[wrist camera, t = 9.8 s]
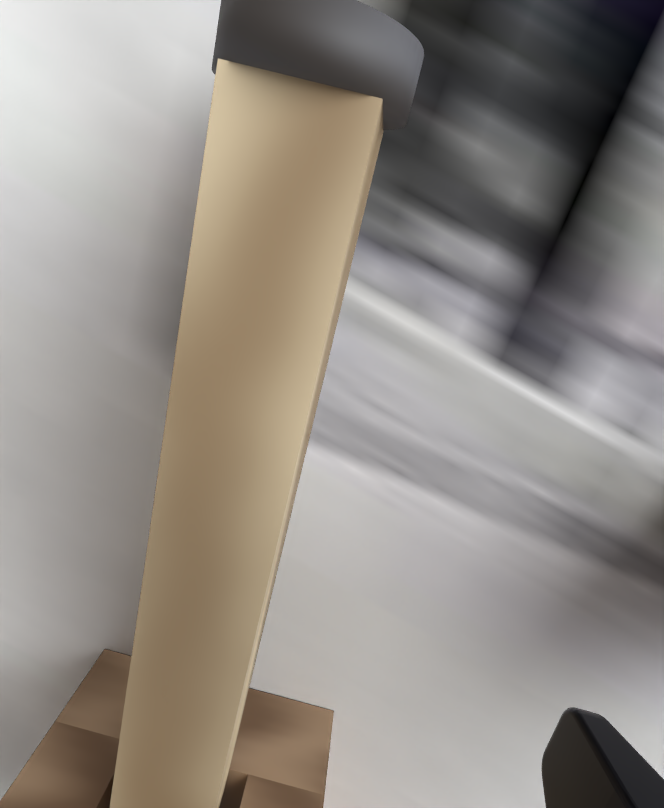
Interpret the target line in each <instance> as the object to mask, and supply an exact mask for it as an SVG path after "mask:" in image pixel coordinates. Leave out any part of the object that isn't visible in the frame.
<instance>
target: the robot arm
mask: <svg viewBox="0 0 664 808" xmlns="http://www.w3.org/2000/svg"><path fill="white" fill-rule="evenodd" d="M542 779H543V787H544V795H545V803H546V808H664V779H663V778H662V777H661V776H660V775H659V774H658V773H657V772H656V771H655V770H654V769H653V768H652V767H651V766H650V765H649V764H648V763H647V761H646V760H645V759H644V758H643V757H642V756H641V755H640V754H639V753H638V752H637V751H636V750H635V749H634V748H633V747H632V746H631V745H630V744H629V743H628V742H627V741H626V739H625V738H624V737H623V736H622V735H621V734H620V733H619V732H618V731H617V730H616V729H615V728H614V727H613V726H612V725H611V724H610V723H609V722H608V721H607V720H606V719H605V718H604V717H603V716H601V715H599V714H596V713H592V712H589V711H585V710H582V709H578V708H568V709H567V710H565V711H564V713H563V714H562V716H561V718H560V720H559V722H558V724H557V726H556V728H555V730H554V733H553V735H552V737H551V739H550V741H549V743H548V745H547V747H546V749H545V752H544V755H543V759H542Z"/></svg>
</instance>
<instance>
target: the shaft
mask: <svg viewBox="0 0 664 808" xmlns="http://www.w3.org/2000/svg"><path fill="white" fill-rule="evenodd" d="M423 58H424V50H423V47H422V45H421V43H420V42H419V40H418V39H417V38H416V37H415V36H414V35H413V34H412V33H411V32H410V31H409V30H408V29H407V28H405V27H404V26H403V25H401V24H400V23H398V22H397V21H395V20H394V19H392V18H391V17H389V16H387V15H386V14H384V13H382V12H380V11H378V10H376V9H374V8H372V7H370V6H368V5H366V4H363V3H361V2H359V1H356V0H221V7H220V14H219V21H218V28H217V35H216V42H215V49H214V56H213V63H212V71H213V73H214V74H215V82H214V88H213V95H212V102H211V109H210V116H209V123H208V130H207V137H206V144H205V151H204V158H203V165H202V171H201V178H200V185H199V192H198V199H197V206H196V213H195V220H194V227H193V234H192V241H191V248H190V254H189V261H188V268H187V275H186V282H185V289H184V296H183V303H182V310H181V317H180V324H179V331H178V338H177V344H176V351H175V358H174V365H173V372H172V379H171V386H170V393H169V400H168V407H167V414H166V421H165V427H164V434H163V441H162V448H161V455H160V462H159V469H158V476H157V483H156V490H155V497H154V504H153V510H152V517H151V524H150V531H149V538H148V545H147V552H146V559H145V566H144V573H143V580H142V587H141V594H140V600H139V607H138V614H137V621H136V628H135V635H134V642H133V649H132V656H131V663H130V670H129V677H128V683H127V690H126V697H125V704H124V711H123V718H122V725H121V732H120V739H119V746H118V753H117V760H116V766H115V773H114V780H113V787H112V794H111V801H110V808H219V807H220V803H221V800H222V796H223V793H224V789H225V785H226V781H227V777H228V772H229V768H230V764H231V760H232V756H233V752H234V748H235V744H236V739H237V735H238V731H239V727H240V723H241V719H242V715H243V710H244V706H245V702H246V698H247V694H248V690H249V686H250V681H251V677H252V673H253V669H254V665H255V661H256V657H257V652H258V648H259V644H260V640H261V636H262V632H263V628H264V624H265V619H266V615H267V611H268V607H269V603H270V599H271V595H272V590H273V586H274V582H275V578H276V574H277V570H278V566H279V561H280V557H281V553H282V549H283V545H284V541H285V537H286V532H287V528H288V524H289V520H290V516H291V512H292V508H293V504H294V499H295V495H296V491H297V487H298V483H299V479H300V475H301V470H302V466H303V462H304V458H305V454H306V450H307V446H308V441H309V437H310V433H311V429H312V425H313V421H314V417H315V412H316V408H317V404H318V400H319V396H320V392H321V388H322V384H323V379H324V375H325V371H326V367H327V363H328V359H329V355H330V350H331V346H332V342H333V338H334V334H335V330H336V326H337V321H338V317H339V313H340V309H341V305H342V301H343V297H344V292H345V288H346V284H347V280H348V276H349V272H350V268H351V263H352V259H353V255H354V251H355V247H356V243H357V239H358V235H359V230H360V226H361V222H362V218H363V214H364V210H365V206H366V201H367V197H368V193H369V189H370V185H371V181H372V177H373V172H374V168H375V164H376V160H377V156H378V152H379V148H380V143H381V139H382V135H383V130H395V129H400V128H403V127H404V126H406V124H407V121H408V117H409V113H410V109H411V105H412V101H413V97H414V94H415V90H416V86H417V82H418V78H419V74H420V70H421V66H422V62H423Z"/></svg>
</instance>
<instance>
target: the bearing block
mask: <svg viewBox="0 0 664 808" xmlns="http://www.w3.org/2000/svg"><path fill="white" fill-rule="evenodd" d="M130 663H131V656H129V655H125V654H121V653H118V652H114V651H110V650H107V649H104V651H103V652H102V654H101V655H100V656H99V658H98V659H97V661H96V662H95V664H94V665H93V667H92V668H91V670H90V671H89V673H88V674H87V675H86V677H85V678H84V680H83V681H82V683H81V684H80V686H79V687H78V689H77V690H76V692H75V693H74V694H73V696H72V697H71V699H70V700H69V702H68V703H67V705H66V706H65V708H64V709H63V710H62V712H61V713H60V715H59V716H58V718H57V719H56V721H55V722H54V724H53V725H52V727H51V728H50V729H49V731H48V732H47V734H46V735H45V737H44V738H43V740H42V741H41V743H40V744H39V745H38V747H37V748H36V750H35V751H34V753H33V754H32V756H31V757H30V759H29V760H28V762H27V763H26V764H25V766H24V767H23V769H22V770H21V772H20V773H19V775H18V776H17V778H16V779H15V781H14V782H13V783H12V785H11V786H10V788H9V789H8V791H7V792H6V794H5V795H4V797H3V798H2V799H1V801H0V808H110V801H111V794H112V787H113V780H114V773H115V766H116V760H117V753H118V746H119V739H120V732H121V725H122V718H123V711H124V704H125V697H126V690H127V683H128V677H129V670H130ZM333 713H334V711H332V710H328V709H324V708H321V707H317V706H313V705H310V704H306V703H302V702H298V701H295V700H291V699H287V698H284V697H280V696H276V695H273V694H269V693H265V692H262V691H258V690H254V689H250V688H249V690H248V694H247V698H246V702H245V706H244V710H243V715H242V719H241V723H240V727H239V731H238V735H237V739H236V744H235V748H234V752H233V756H232V760H231V764H230V768H229V772H228V777H227V781H226V785H225V789H224V793H223V796H222V800H221V803H220V807H219V808H323V803H324V794H325V785H326V776H327V767H328V758H329V749H330V740H331V731H332V722H333Z"/></svg>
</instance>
